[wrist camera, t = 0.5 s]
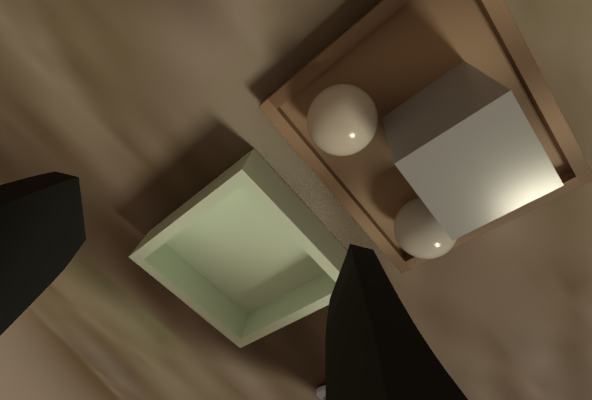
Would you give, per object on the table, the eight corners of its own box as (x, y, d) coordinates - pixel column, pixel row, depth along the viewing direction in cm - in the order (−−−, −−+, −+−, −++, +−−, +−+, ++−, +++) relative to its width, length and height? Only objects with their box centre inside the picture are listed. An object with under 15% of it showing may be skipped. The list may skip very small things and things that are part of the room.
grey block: (506, 133, 16) (564, 185, 12) (426, 180, 18) (452, 240, 14) (463, 60, 15) (510, 90, 11) (381, 118, 17) (394, 163, 12)
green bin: (356, 260, 22) (357, 290, 19) (249, 317, 25) (240, 348, 23) (253, 148, 19) (242, 169, 17) (149, 231, 22) (128, 256, 20)
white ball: (461, 216, 19) (479, 253, 16) (409, 243, 20) (419, 281, 17) (431, 175, 18) (445, 207, 15) (379, 205, 19) (384, 240, 16)
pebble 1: (388, 115, 17) (396, 139, 14) (335, 152, 18) (333, 180, 15) (349, 62, 16) (350, 77, 13) (296, 104, 17) (288, 126, 14)
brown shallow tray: (583, 169, 17) (595, 179, 16) (399, 261, 21) (401, 273, 20) (459, -68, 13) (467, -71, 12) (262, 101, 17) (258, 107, 16)
